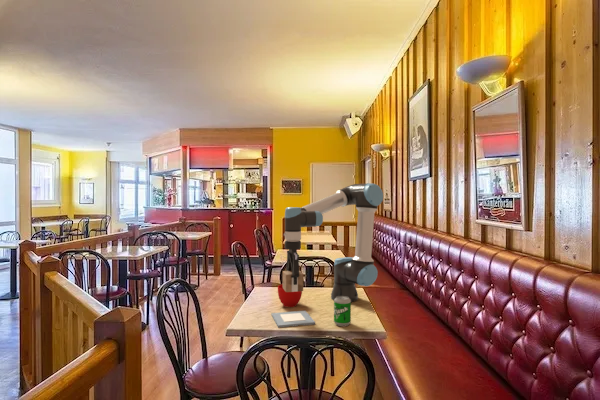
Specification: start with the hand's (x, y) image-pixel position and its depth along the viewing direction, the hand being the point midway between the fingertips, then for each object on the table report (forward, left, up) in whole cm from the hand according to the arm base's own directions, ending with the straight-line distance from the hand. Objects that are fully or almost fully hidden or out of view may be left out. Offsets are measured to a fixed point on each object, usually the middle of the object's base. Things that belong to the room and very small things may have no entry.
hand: (292, 288), depth 171 cm
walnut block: (0, 0, 0) cm, 0 cm away
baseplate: (0, 0, -14) cm, 14 cm away
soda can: (-21, +11, -15) cm, 27 cm away
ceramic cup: (-5, -24, -15) cm, 28 cm away
